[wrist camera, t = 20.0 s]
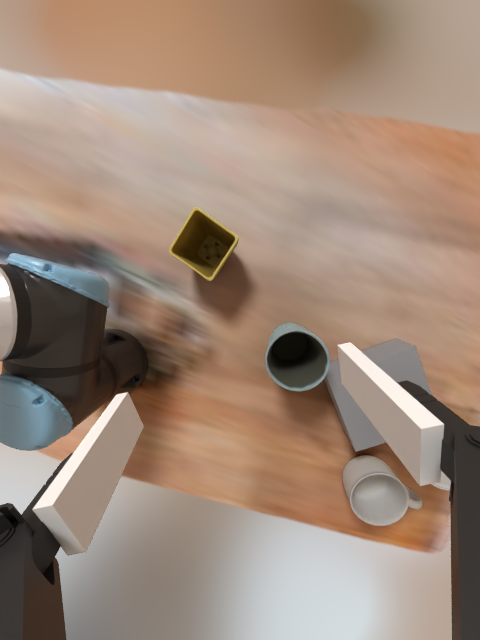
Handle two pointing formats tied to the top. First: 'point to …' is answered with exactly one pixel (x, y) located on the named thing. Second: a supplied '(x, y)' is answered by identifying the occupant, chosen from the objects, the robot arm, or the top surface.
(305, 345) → the grey-green cup
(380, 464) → the teacup
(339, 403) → the riser block
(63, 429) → the robot arm
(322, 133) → the top surface
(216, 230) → the flower pot
